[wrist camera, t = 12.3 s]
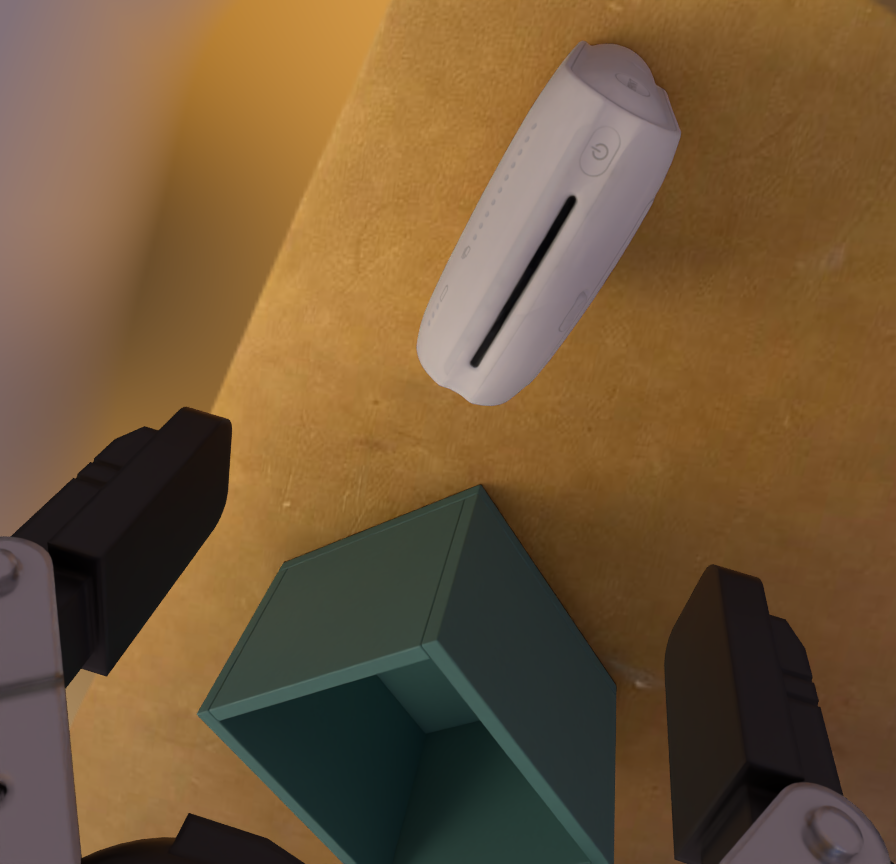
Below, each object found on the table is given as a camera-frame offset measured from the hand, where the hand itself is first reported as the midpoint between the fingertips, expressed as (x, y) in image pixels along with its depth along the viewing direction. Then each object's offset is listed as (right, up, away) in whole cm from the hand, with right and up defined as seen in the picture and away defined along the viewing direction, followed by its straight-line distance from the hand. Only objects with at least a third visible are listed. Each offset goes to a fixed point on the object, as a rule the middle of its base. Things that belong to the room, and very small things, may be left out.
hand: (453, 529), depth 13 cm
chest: (0, -10, +32) cm, 33 cm away
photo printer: (+4, +12, +18) cm, 22 cm away
